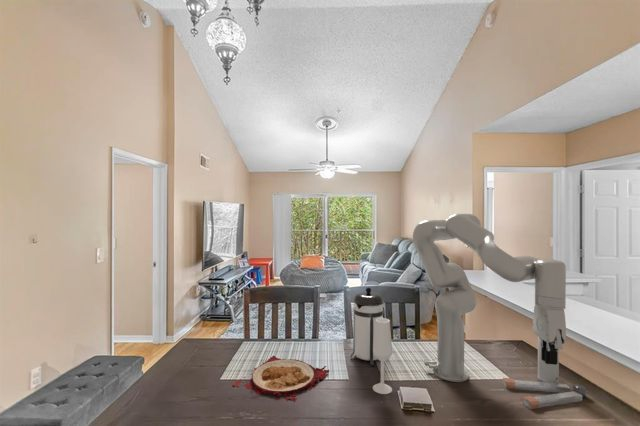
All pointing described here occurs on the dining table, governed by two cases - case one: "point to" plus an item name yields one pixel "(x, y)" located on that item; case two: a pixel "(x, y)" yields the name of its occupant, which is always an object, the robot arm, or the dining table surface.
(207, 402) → the dining table surface
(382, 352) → the champagne flute
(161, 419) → the dining table surface
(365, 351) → the coffee press
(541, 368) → the travel mug
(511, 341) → the dining table surface
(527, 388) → the base
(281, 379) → the plate with food
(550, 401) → the arm
